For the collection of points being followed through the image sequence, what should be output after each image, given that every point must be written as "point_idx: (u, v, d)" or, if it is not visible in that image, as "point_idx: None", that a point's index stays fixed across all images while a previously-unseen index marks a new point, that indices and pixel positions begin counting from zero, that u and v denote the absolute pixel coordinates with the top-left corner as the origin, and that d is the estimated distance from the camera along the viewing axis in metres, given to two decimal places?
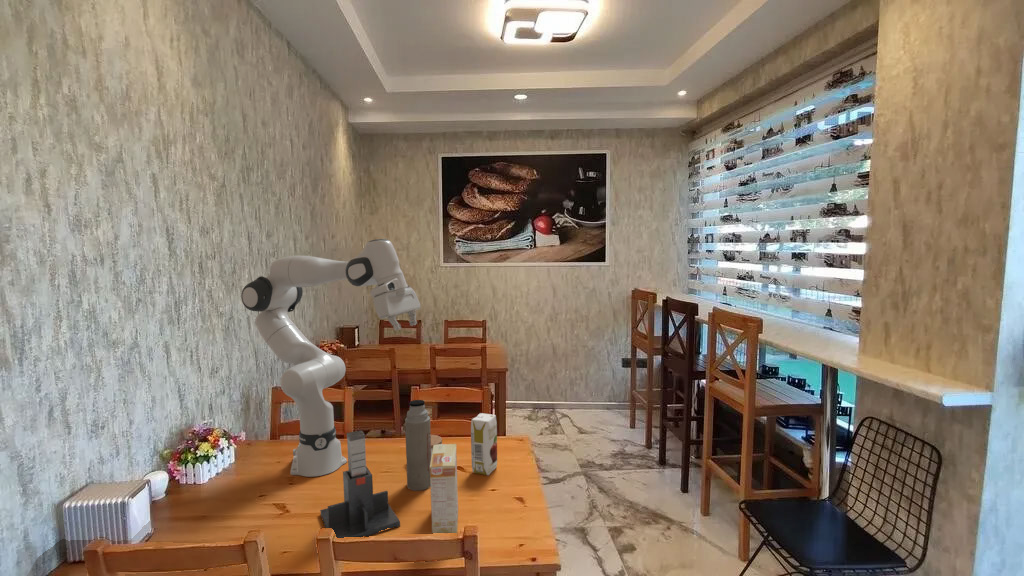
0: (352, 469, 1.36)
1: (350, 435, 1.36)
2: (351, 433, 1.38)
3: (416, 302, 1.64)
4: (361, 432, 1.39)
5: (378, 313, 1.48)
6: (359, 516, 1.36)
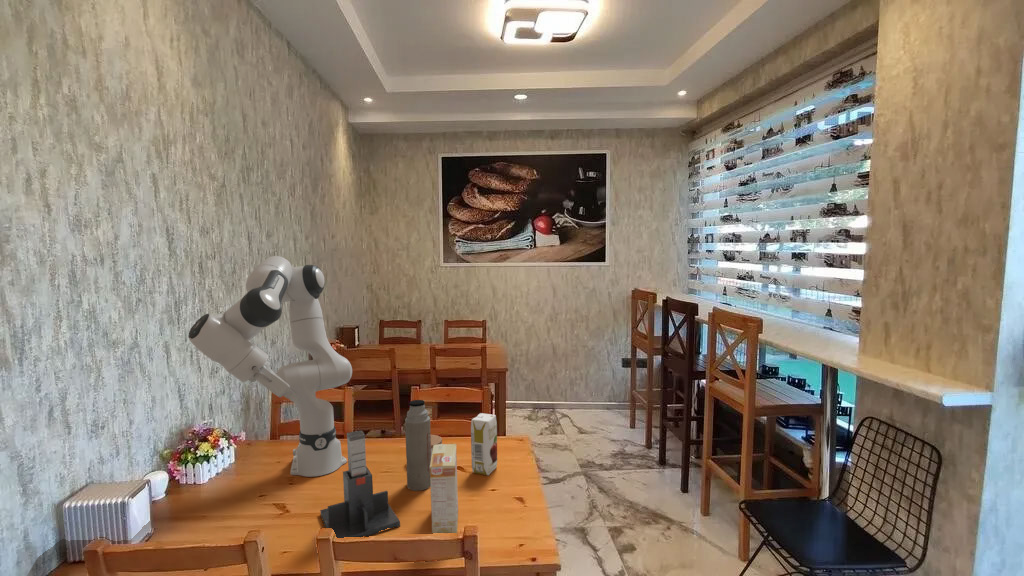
0: (352, 469, 1.36)
1: (350, 435, 1.36)
2: (351, 433, 1.38)
3: None
4: (361, 432, 1.39)
5: None
6: (359, 516, 1.36)
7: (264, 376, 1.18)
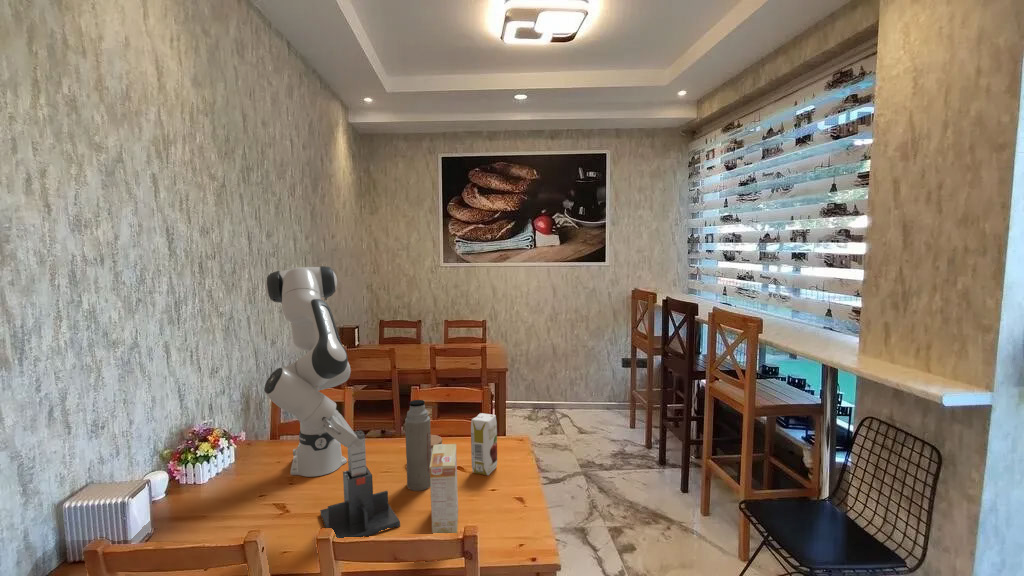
0: (352, 469, 1.36)
1: None
2: None
3: None
4: (361, 432, 1.39)
5: None
6: (359, 516, 1.36)
7: (334, 430, 1.24)
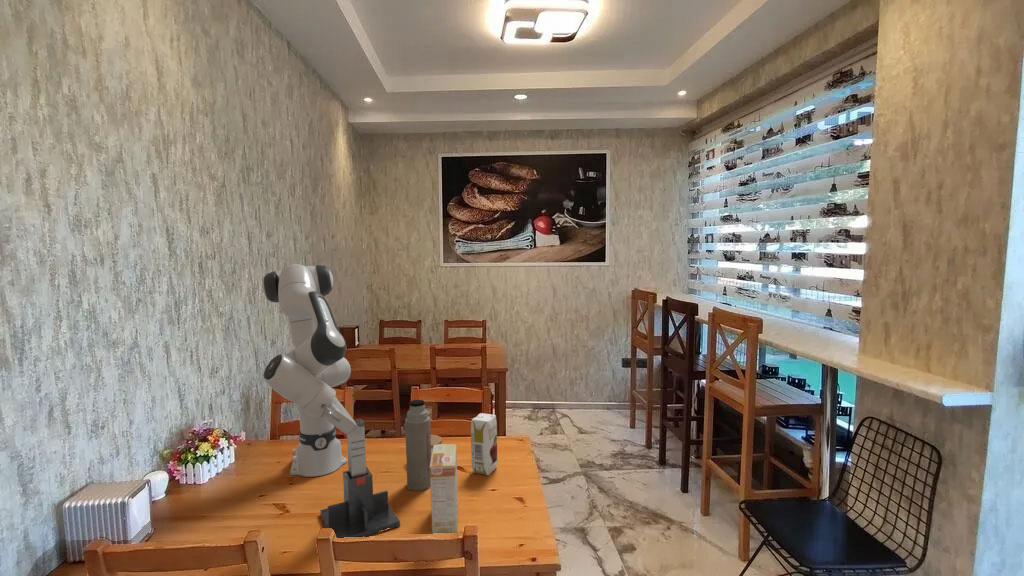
0: (351, 457, 1.35)
1: None
2: None
3: None
4: (361, 420, 1.38)
5: None
6: (359, 516, 1.36)
7: (333, 416, 1.24)
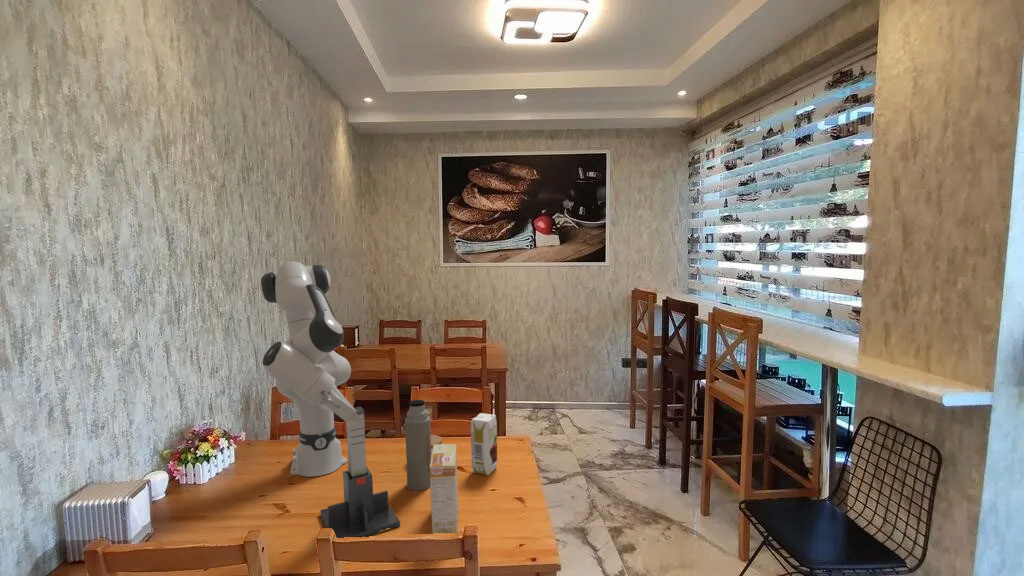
0: (351, 445, 1.35)
1: None
2: None
3: None
4: (360, 408, 1.38)
5: None
6: (359, 516, 1.36)
7: (333, 403, 1.24)
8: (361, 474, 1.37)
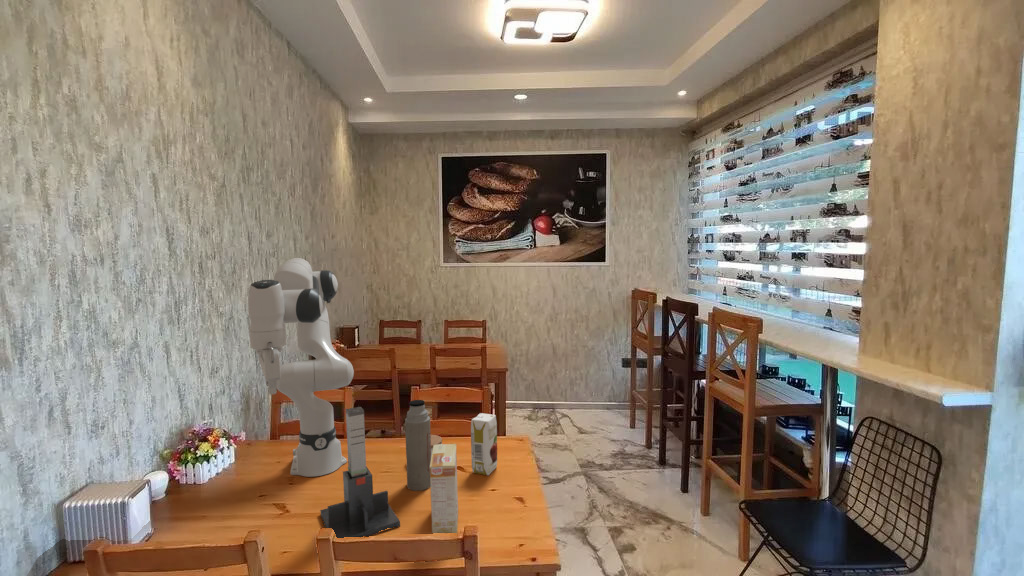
0: (351, 445, 1.35)
1: (349, 411, 1.36)
2: (350, 409, 1.37)
3: (264, 371, 1.26)
4: (360, 408, 1.38)
5: None
6: (359, 516, 1.36)
7: (272, 355, 1.25)
8: (361, 474, 1.37)
